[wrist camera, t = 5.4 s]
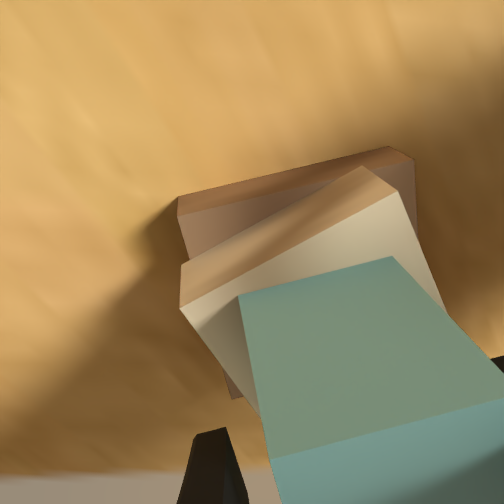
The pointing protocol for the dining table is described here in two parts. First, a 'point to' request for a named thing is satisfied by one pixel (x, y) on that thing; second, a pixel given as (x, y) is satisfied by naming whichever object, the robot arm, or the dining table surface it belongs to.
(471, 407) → the teal block
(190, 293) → the tower top
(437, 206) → the dining table surface
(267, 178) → the tower base
